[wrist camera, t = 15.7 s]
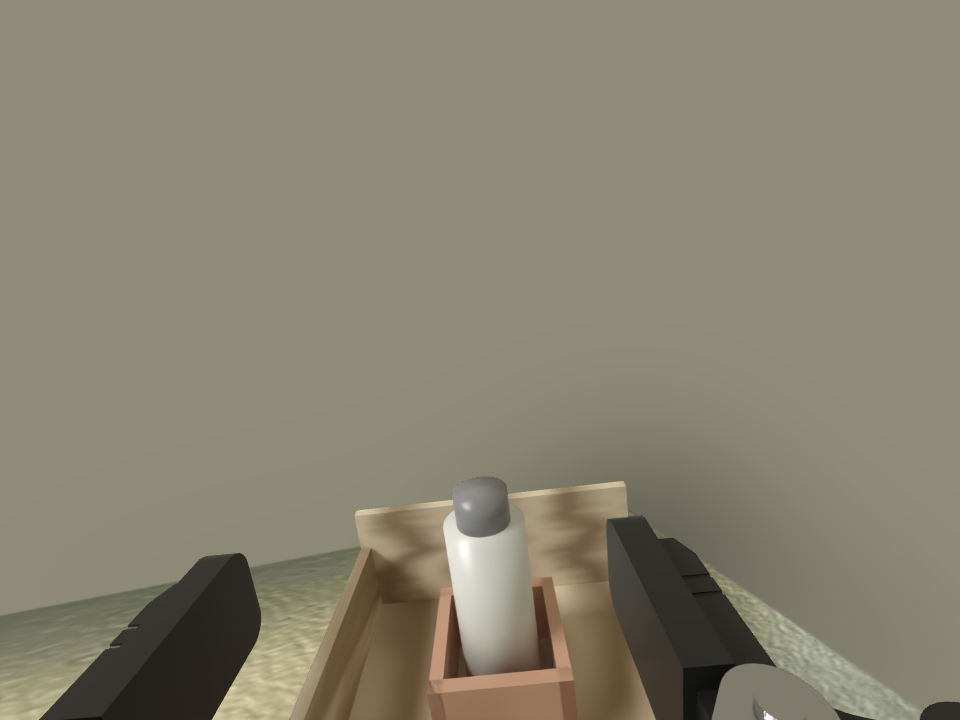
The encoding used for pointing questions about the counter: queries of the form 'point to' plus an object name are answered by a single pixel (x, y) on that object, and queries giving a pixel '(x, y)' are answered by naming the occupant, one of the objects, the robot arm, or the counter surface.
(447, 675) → the wooden tray
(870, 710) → the counter surface
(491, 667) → the white plastic bottle
